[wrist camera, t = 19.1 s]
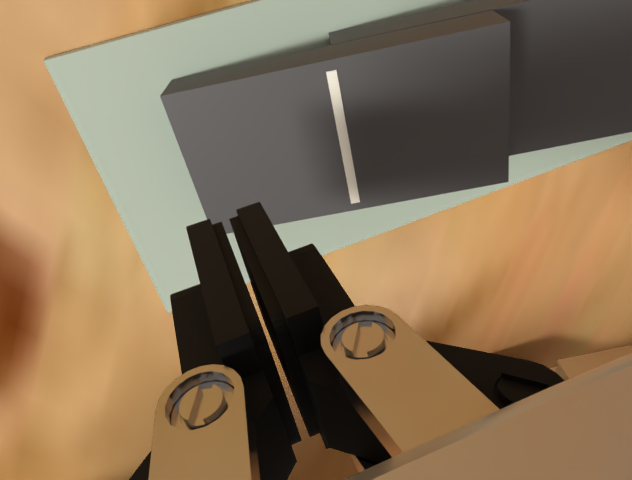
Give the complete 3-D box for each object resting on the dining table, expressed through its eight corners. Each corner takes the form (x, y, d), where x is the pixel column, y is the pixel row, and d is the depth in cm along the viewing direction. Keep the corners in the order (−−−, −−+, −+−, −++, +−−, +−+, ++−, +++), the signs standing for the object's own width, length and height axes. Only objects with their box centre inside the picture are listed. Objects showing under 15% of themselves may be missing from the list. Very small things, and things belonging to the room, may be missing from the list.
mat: (701, 107, 25) (710, 110, 25) (166, 305, 21) (167, 313, 20) (758, -141, 20) (771, -142, 19) (45, 57, 15) (43, 60, 15)
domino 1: (172, 79, 16) (491, 9, 15) (220, 211, 19) (493, 160, 18) (159, 96, 15) (510, 21, 14) (213, 237, 18) (509, 182, 17)
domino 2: (328, 32, 17) (637, -37, 16) (352, 165, 20) (616, 113, 19) (331, 44, 16) (670, -30, 15) (356, 186, 18) (642, 130, 18)
